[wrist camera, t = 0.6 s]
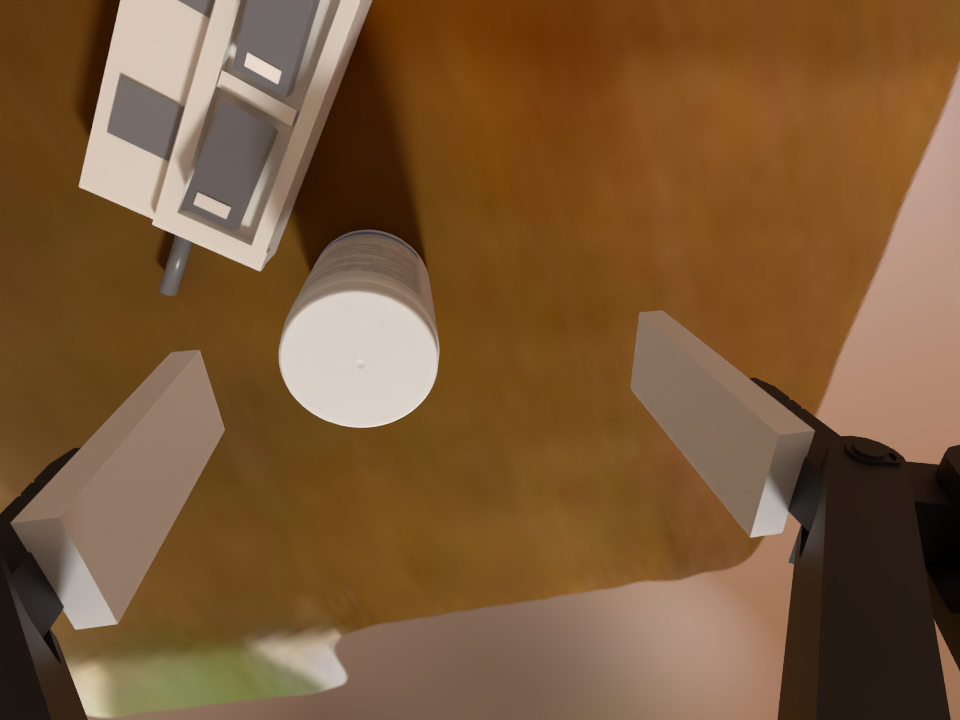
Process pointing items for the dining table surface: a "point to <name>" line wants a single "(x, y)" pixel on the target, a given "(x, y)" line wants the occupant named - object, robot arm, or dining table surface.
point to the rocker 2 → (274, 41)
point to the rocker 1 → (229, 166)
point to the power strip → (207, 118)
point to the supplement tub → (362, 332)
